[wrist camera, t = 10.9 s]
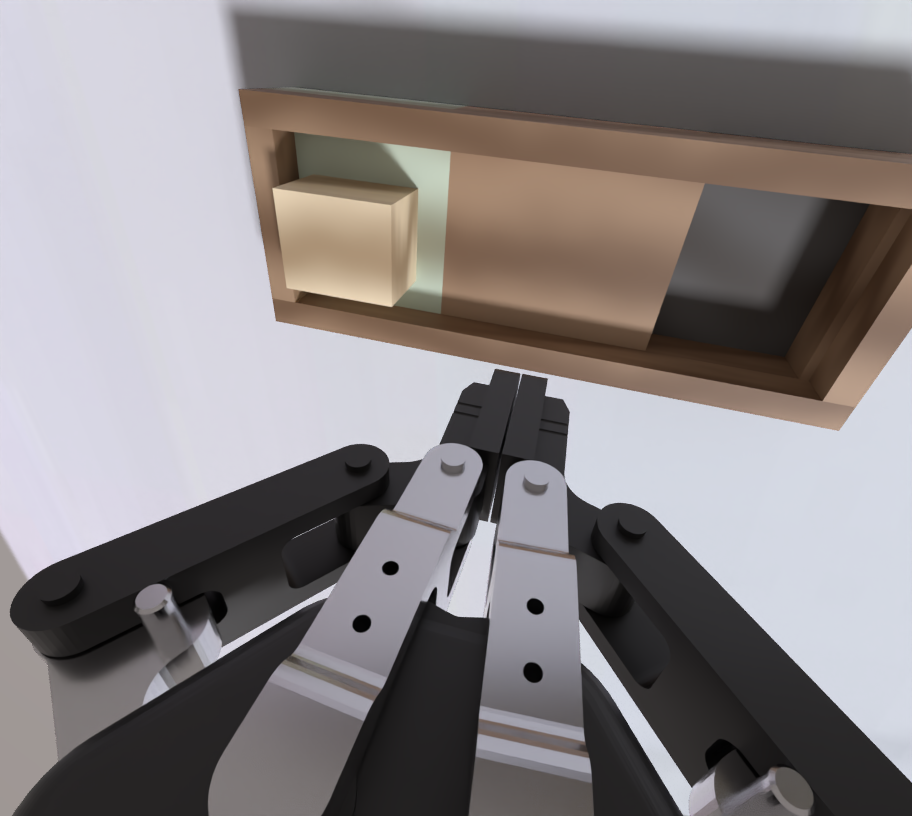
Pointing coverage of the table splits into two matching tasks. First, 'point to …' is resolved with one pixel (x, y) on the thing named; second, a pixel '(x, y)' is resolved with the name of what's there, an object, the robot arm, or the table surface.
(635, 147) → the box
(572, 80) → the table surface
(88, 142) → the table surface
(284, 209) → the beech block
